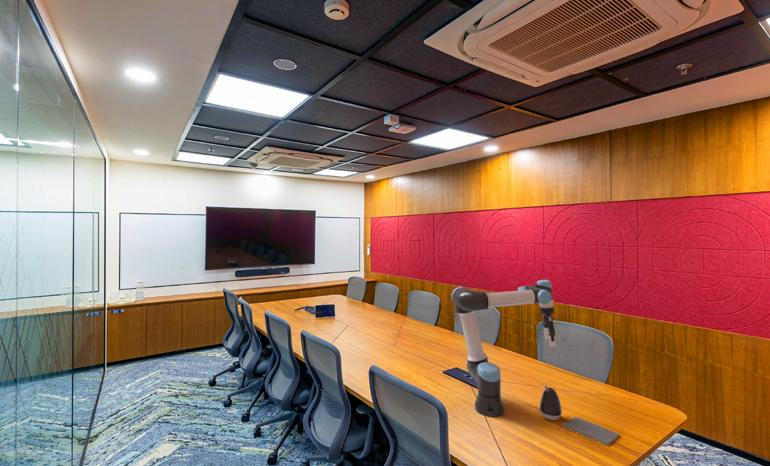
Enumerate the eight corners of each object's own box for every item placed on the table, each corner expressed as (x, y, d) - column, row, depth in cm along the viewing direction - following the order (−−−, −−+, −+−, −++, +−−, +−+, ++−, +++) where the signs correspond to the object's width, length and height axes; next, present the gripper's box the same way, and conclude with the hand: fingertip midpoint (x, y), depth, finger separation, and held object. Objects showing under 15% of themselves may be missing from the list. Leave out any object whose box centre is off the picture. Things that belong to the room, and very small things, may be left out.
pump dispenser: (555, 412, 185) (554, 383, 186) (565, 422, 175) (565, 392, 175) (536, 412, 185) (535, 383, 185) (545, 423, 175) (545, 392, 175)
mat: (607, 446, 155) (607, 444, 155) (562, 426, 172) (562, 424, 172) (619, 436, 163) (619, 434, 163) (575, 418, 179) (575, 416, 179)
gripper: (558, 311, 194) (562, 349, 194) (548, 301, 218) (552, 335, 218) (544, 312, 196) (548, 349, 196) (535, 302, 220) (539, 336, 220)
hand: (550, 342), depth 207 cm, fingers open, 13 cm apart
